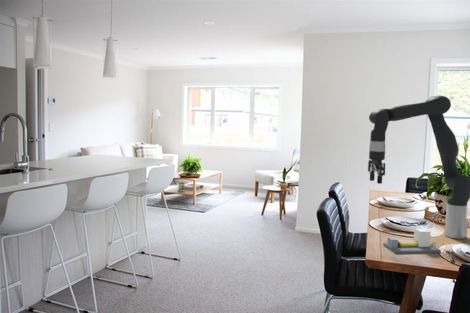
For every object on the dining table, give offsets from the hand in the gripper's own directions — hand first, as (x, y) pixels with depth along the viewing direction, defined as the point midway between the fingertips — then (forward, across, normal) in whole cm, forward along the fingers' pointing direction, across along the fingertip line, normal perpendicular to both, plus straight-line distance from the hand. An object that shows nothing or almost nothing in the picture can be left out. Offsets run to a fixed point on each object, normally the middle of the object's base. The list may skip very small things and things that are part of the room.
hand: (375, 182), depth 207 cm
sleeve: (+27, -18, -16) cm, 36 cm away
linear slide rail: (+29, -18, -11) cm, 36 cm away
